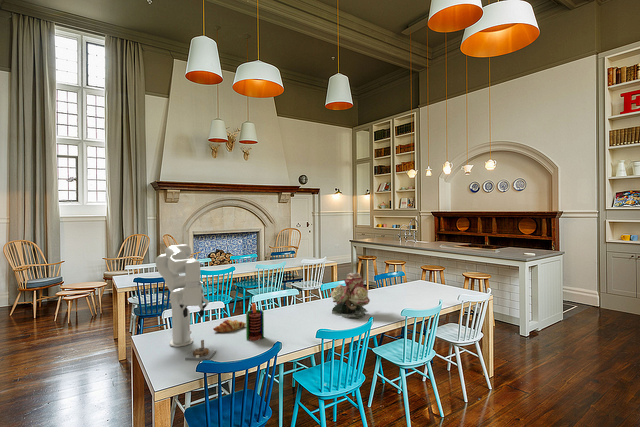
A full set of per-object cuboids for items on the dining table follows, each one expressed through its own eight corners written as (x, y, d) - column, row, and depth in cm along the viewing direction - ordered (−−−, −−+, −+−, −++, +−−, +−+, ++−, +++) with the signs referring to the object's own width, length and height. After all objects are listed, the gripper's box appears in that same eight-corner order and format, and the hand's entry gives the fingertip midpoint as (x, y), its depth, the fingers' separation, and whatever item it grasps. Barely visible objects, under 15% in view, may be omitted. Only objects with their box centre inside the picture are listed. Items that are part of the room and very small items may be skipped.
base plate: (193, 351, 190) (193, 348, 190) (215, 351, 189) (215, 348, 189) (185, 359, 180) (185, 355, 180) (209, 359, 179) (209, 355, 179)
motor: (249, 342, 203) (248, 307, 202) (244, 337, 210) (243, 304, 210) (265, 338, 208) (265, 304, 208) (259, 334, 216) (259, 301, 215)
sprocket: (196, 350, 189) (196, 339, 188) (210, 350, 188) (210, 339, 188) (190, 356, 181) (190, 345, 181) (205, 356, 180) (205, 345, 180)
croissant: (244, 330, 232) (242, 318, 235) (249, 327, 225) (247, 314, 228) (212, 336, 220) (210, 324, 224) (216, 333, 213) (214, 320, 216)
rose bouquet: (326, 315, 252) (325, 273, 252) (350, 306, 274) (349, 268, 274) (355, 322, 235) (355, 277, 235) (378, 312, 258) (378, 271, 257)
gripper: (211, 282, 190) (212, 314, 190) (180, 282, 191) (180, 314, 191) (206, 285, 182) (207, 319, 182) (173, 285, 183) (174, 318, 183)
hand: (193, 316), depth 187 cm, fingers open, 8 cm apart
